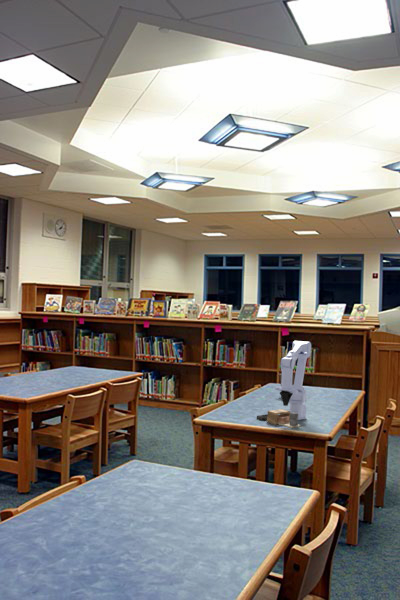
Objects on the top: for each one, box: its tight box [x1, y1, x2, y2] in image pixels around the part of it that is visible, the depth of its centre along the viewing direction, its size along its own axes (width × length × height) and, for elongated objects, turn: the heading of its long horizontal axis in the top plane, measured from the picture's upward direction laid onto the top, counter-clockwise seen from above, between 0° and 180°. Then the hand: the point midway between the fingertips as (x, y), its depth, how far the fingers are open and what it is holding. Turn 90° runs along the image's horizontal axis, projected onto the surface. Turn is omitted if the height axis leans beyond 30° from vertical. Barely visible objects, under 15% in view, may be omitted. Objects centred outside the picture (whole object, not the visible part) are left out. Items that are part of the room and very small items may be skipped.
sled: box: [277, 412, 301, 429], centre depth 277 cm, size 7×18×7 cm, turn 39°
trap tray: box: [256, 413, 268, 422], centre depth 287 cm, size 9×5×2 cm, turn 129°
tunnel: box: [266, 408, 290, 426], centre depth 280 cm, size 11×6×6 cm, turn 129°
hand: (285, 405), depth 276 cm, fingers closed
